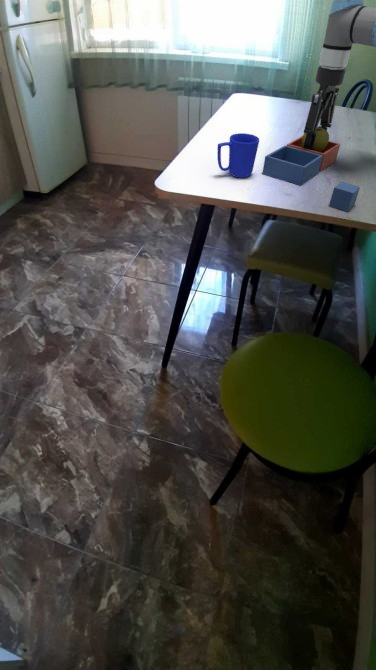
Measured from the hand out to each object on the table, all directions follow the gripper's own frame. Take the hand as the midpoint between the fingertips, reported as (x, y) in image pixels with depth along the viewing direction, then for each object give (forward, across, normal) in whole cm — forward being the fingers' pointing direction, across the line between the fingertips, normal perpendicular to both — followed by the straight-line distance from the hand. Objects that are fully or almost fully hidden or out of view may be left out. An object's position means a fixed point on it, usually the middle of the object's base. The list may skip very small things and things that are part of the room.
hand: (312, 152), depth 128 cm
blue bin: (+3, +14, 0) cm, 14 cm away
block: (+3, +24, +20) cm, 31 cm away
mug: (+3, +26, -12) cm, 29 cm away
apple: (0, 0, 0) cm, 0 cm away
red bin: (+3, 0, 0) cm, 3 cm away
